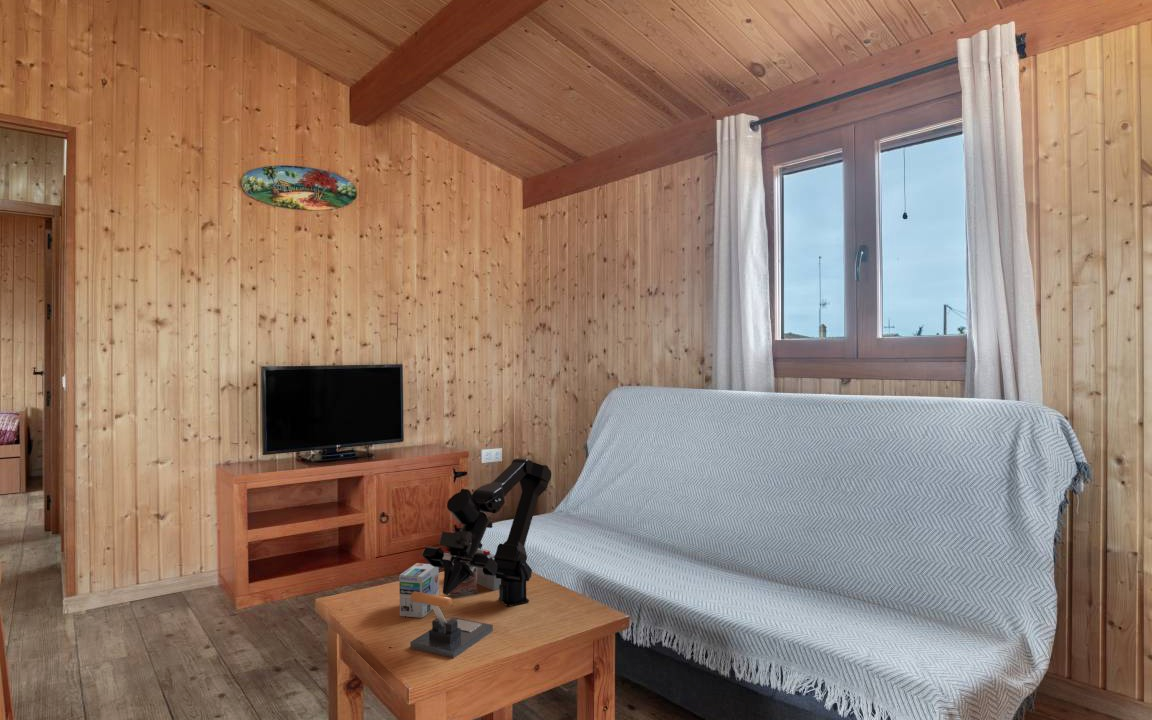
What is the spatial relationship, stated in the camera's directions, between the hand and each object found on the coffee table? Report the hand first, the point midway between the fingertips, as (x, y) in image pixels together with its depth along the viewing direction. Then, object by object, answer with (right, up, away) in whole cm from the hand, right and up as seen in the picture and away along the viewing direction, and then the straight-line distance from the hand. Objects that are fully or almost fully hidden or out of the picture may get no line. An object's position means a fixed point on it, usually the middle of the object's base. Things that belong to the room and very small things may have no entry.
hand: (444, 594), depth 154 cm
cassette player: (+3, -12, +42) cm, 43 cm away
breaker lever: (0, -7, 0) cm, 7 cm away
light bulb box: (-11, -12, +21) cm, 27 cm away
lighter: (-1, -12, +33) cm, 35 cm away
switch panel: (+1, -12, +3) cm, 12 cm away
